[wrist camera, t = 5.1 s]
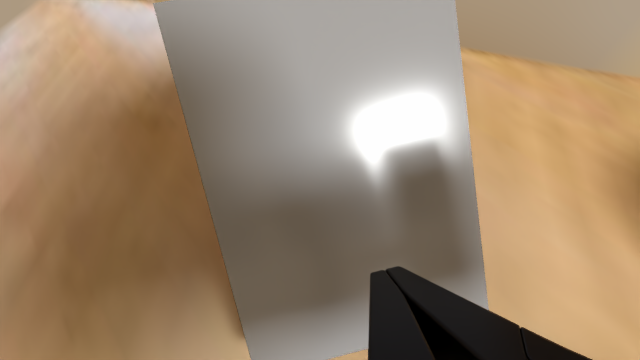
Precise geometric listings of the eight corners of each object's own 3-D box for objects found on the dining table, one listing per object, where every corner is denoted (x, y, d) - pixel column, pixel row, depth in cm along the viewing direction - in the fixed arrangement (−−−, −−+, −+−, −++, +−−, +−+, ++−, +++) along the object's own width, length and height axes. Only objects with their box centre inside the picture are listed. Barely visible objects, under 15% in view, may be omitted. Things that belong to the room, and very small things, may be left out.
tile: (489, 316, 13) (449, -45, 10) (256, 378, 12) (153, 3, 10) (455, 285, 15) (417, -11, 13) (261, 335, 15) (180, 30, 12)
